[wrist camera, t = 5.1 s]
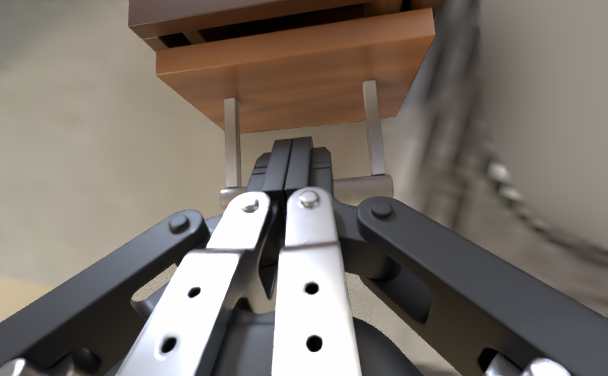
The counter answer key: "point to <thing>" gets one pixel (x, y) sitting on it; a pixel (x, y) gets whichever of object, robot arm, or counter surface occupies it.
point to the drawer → (304, 78)
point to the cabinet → (224, 15)
